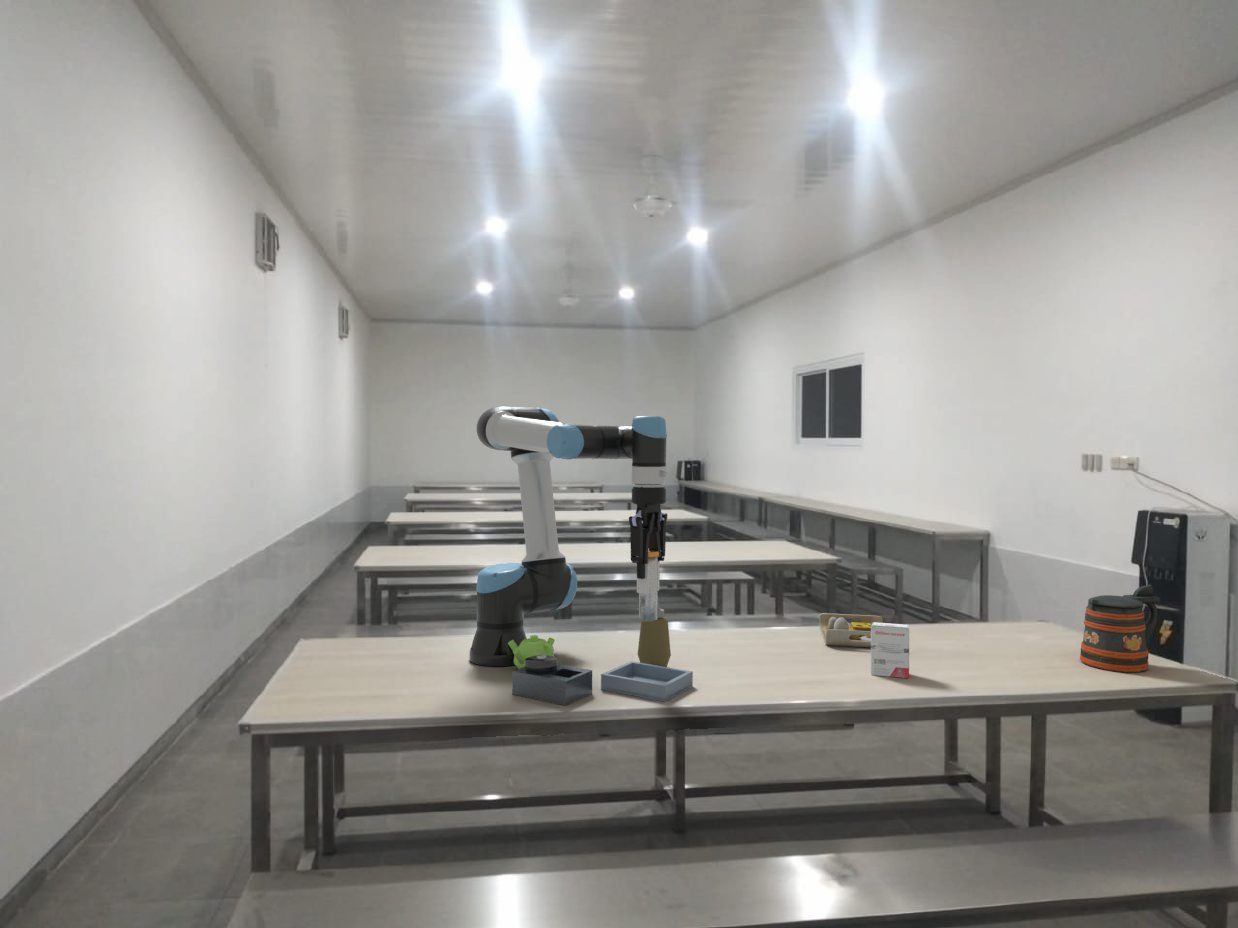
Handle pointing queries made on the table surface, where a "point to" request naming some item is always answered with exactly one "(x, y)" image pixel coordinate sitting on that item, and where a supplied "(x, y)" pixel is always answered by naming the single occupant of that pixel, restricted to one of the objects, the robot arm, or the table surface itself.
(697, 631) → the table surface
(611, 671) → the parts tray
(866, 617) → the toy food set
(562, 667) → the grey boxy piece
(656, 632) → the squeeze bottle
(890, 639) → the ink box
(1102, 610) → the beer stein
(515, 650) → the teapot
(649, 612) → the glass jar with lid
